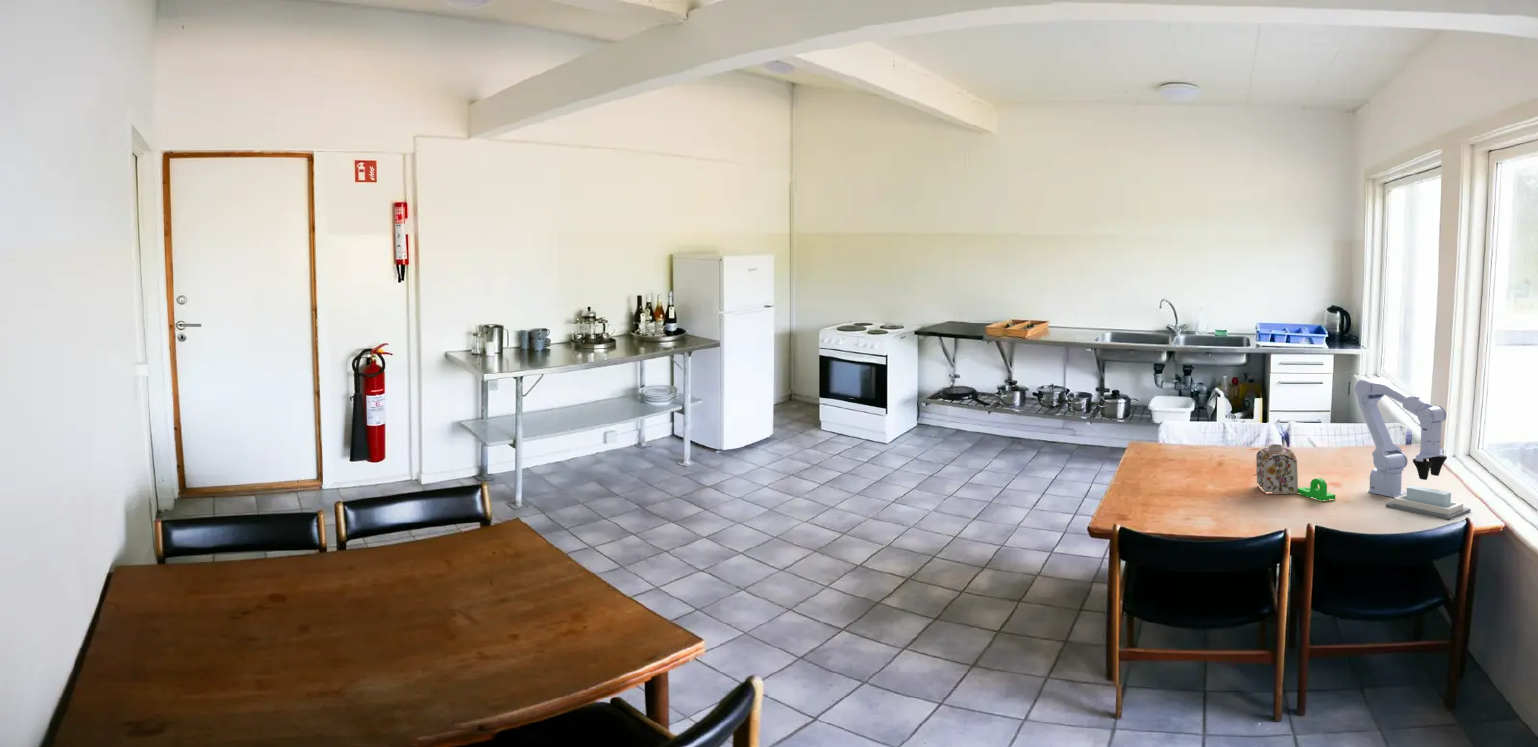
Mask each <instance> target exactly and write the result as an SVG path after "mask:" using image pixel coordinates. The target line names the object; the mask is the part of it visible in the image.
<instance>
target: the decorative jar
mask: <svg viewBox="0 0 1538 747" xmlns="http://www.w3.org/2000/svg"><path fill="white" fill-rule="evenodd" d="M1255 460H1256V463H1255V465H1256V484H1257V483H1258V484H1259V485H1260V487H1262V489H1263V490H1264V491H1265V492H1272V493H1298V488H1299V483H1298V482H1299V481H1298V480H1299V478H1298V459H1297V457H1296V455H1295V452H1294V451H1293V450H1292V449H1291V448H1287V447H1283V445H1282V444H1277V443H1273V444H1269V445H1268V447H1263V448H1261V449H1259V450H1258V452H1257V453H1256V459H1255Z"/></svg>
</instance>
